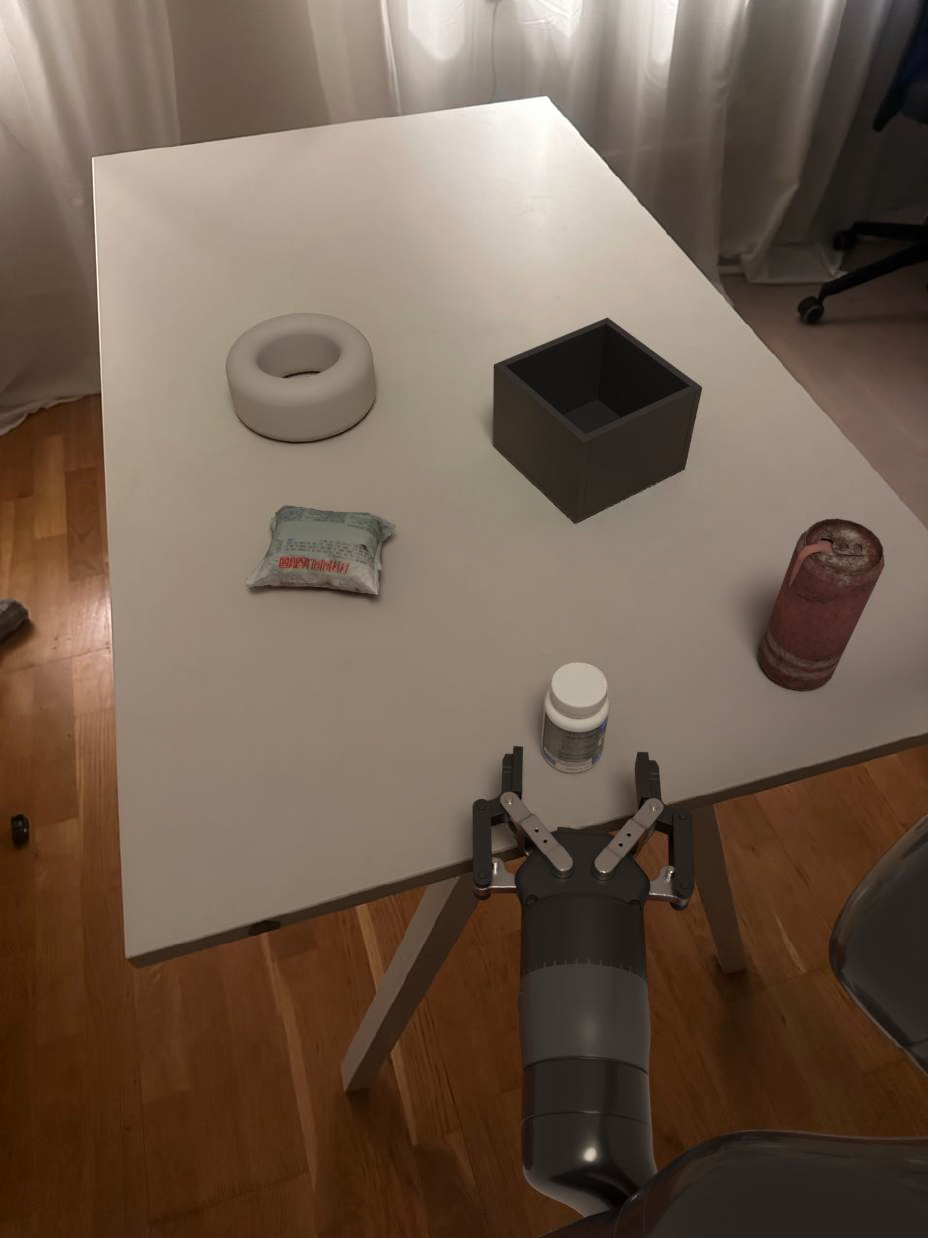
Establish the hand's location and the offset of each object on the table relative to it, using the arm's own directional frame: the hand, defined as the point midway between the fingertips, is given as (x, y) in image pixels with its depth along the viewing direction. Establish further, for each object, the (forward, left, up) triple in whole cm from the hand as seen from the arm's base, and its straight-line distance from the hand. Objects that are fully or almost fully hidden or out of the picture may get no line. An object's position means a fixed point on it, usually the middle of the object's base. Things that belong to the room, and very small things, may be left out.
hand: (578, 754), depth 66 cm
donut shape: (-6, -53, -6) cm, 54 cm away
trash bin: (-25, -29, -6) cm, 39 cm away
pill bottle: (-3, -3, -6) cm, 8 cm away
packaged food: (+4, -30, -6) cm, 31 cm away
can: (-23, 0, -6) cm, 23 cm away
